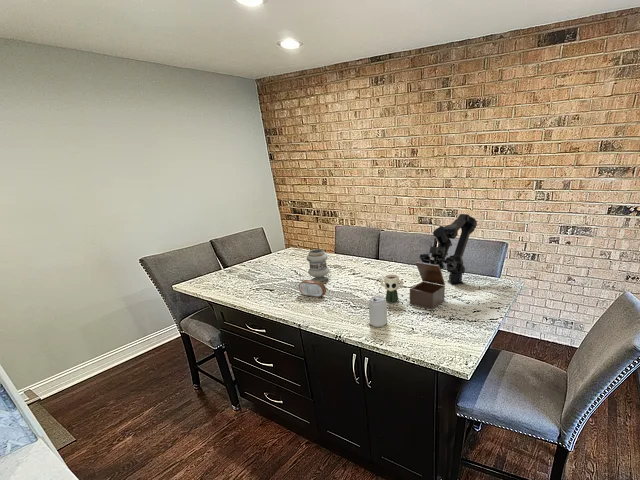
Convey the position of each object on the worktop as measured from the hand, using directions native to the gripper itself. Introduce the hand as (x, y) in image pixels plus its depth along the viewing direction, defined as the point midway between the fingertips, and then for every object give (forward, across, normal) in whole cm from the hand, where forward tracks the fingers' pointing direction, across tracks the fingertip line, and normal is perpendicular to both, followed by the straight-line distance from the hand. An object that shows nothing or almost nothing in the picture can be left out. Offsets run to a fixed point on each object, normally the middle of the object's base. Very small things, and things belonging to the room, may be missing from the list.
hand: (431, 275), depth 166 cm
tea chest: (+12, 0, +6) cm, 13 cm away
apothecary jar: (+16, -70, +3) cm, 72 cm away
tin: (+29, -55, -11) cm, 63 cm away
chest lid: (0, 0, -2) cm, 2 cm away
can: (+35, -6, -16) cm, 39 cm away
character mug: (+18, -16, 0) cm, 24 cm away
